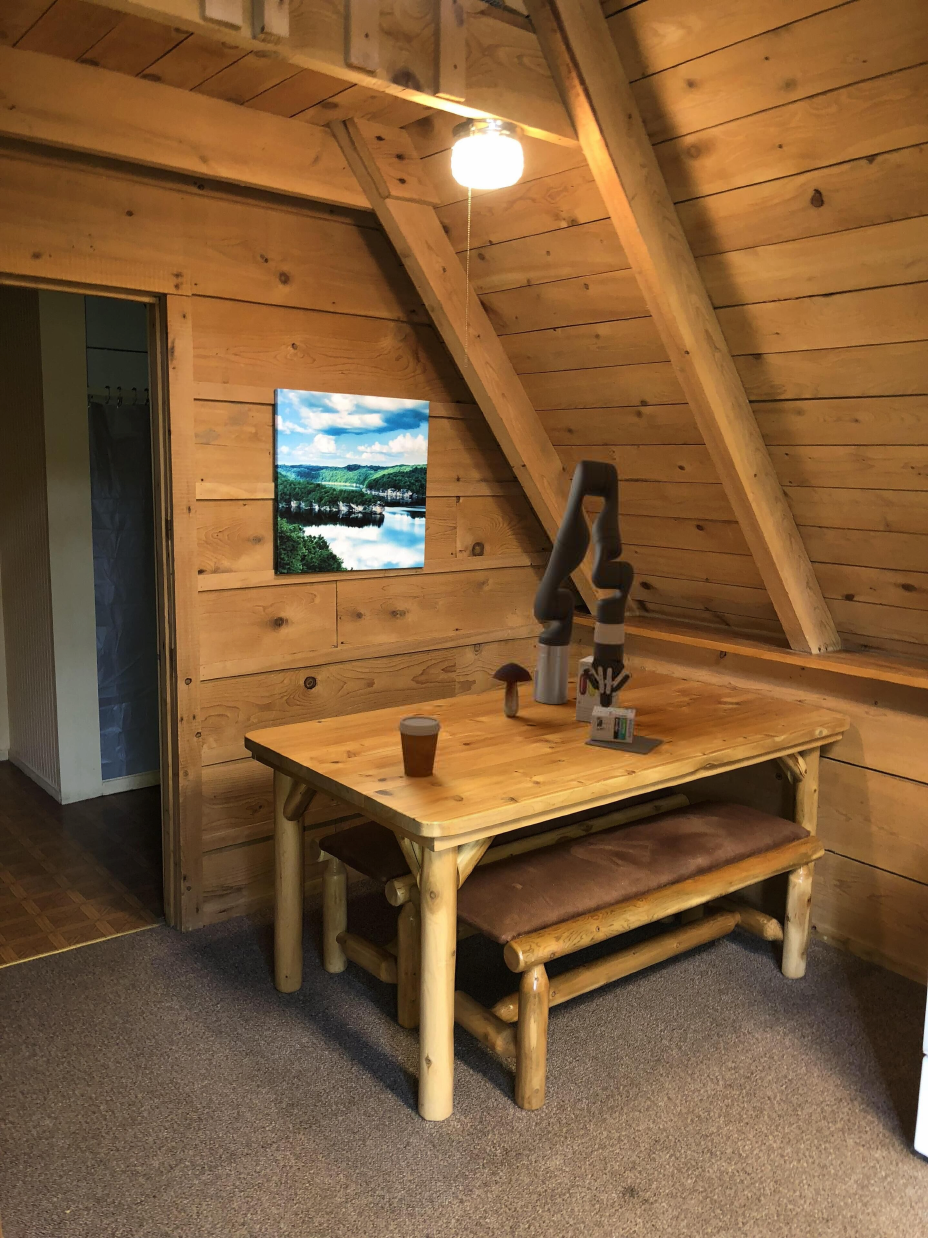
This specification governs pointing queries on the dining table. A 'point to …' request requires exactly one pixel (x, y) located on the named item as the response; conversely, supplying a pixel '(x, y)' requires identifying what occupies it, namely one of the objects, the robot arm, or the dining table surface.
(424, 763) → the disposable coffee cup
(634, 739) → the mat
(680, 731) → the dining table surface
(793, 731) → the dining table surface
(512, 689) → the decorative mushroom
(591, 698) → the supplement box
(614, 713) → the light bulb box
